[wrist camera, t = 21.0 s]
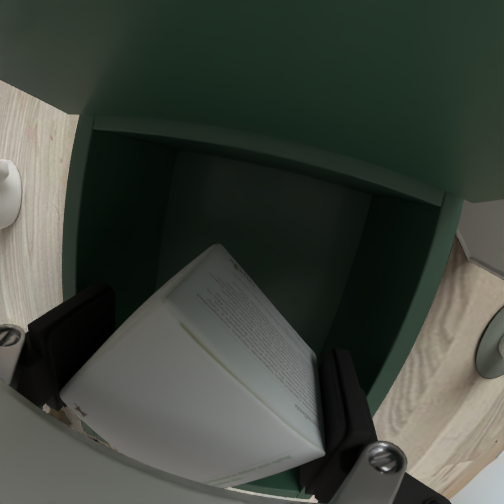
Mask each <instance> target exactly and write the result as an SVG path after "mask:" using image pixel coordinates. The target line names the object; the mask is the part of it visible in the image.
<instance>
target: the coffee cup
mask: <svg viewBox="0 0 504 504" xmlns="http://www.w3.org/2000/svg"><path fill="white" fill-rule="evenodd" d="M476 367H477V371H478V373H479V374H480V375H481V376H482V377H483V378H487V379H492V378H497V377H499V376H501V375H503V374H504V307H503V308H502V309H501V310H500V311H499V313H498V314H497V315H496V316H495V317H494V319H493V320H492V321H491V323H490V325H489V326H488V328H487V329H486V331H485V333H484V335H483V337H482V339H481V341H480V344H479V346H478V349H477V353H476Z"/></svg>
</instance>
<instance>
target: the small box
mask: <svg viewBox="0 0 504 504" xmlns="http://www.w3.org/2000/svg"><path fill="white" fill-rule="evenodd" d="M60 398H61V399H62V401H63V402H64V403H65V404H66V405H67V406H68V407H69V408H70V409H71V410H72V411H73V412H74V413H75V414H76V415H77V416H78V417H79V418H80V419H81V420H82V421H84V422H85V423H86V424H87V425H88V426H89V427H90V428H91V429H93V430H94V431H95V432H96V433H97V434H98V435H99V436H101V437H102V438H103V439H104V440H105V441H107V442H108V443H109V444H110V445H111V446H113V447H114V448H115V449H117V450H118V451H119V452H120V453H122V454H123V455H125V456H128V457H130V458H132V459H135V460H137V461H139V462H142V463H144V464H147V465H149V466H152V467H155V468H157V469H160V470H163V471H165V472H168V473H171V474H174V475H177V476H180V477H183V478H186V479H190V480H193V481H196V482H200V483H203V484H207V485H211V486H215V487H218V488H223V489H224V488H228V487H232V486H236V485H240V484H244V483H247V482H251V481H254V480H258V479H261V478H265V477H267V476H271V475H274V474H277V473H280V472H283V471H286V470H288V469H291V468H294V467H297V466H299V465H302V464H305V463H307V462H310V461H312V460H315V459H317V458H320V457H323V456H324V455H325V454H326V445H325V431H324V417H323V409H322V399H321V390H320V382H319V374H318V366H317V358H316V355H315V353H314V352H313V351H312V350H311V349H310V347H309V346H308V345H307V344H306V343H305V342H304V340H303V339H302V338H301V337H300V336H299V335H298V334H297V332H296V331H295V330H294V329H293V328H292V327H291V325H290V324H289V323H288V322H287V321H286V320H285V318H284V317H283V316H282V315H281V314H280V313H279V311H278V310H277V309H276V308H275V307H274V305H273V304H272V303H271V302H270V301H269V299H268V298H267V297H266V296H265V295H264V294H263V292H262V291H261V290H260V289H259V288H258V286H257V285H256V284H255V283H254V282H253V280H252V279H251V278H250V277H249V276H248V275H247V273H246V272H245V271H244V270H243V269H242V268H241V266H240V265H239V264H238V263H237V262H236V261H235V260H234V258H233V257H232V256H231V255H230V254H229V253H228V251H227V250H226V249H225V248H224V247H223V246H222V245H221V244H214V245H212V246H211V247H209V248H208V249H207V250H205V251H204V252H203V253H202V254H200V255H199V256H198V257H197V258H195V259H194V260H193V261H192V262H190V263H189V264H188V265H187V266H185V267H184V268H183V269H182V270H181V271H179V272H178V273H177V274H176V275H175V276H173V277H172V278H171V279H170V280H169V281H168V282H166V283H165V284H164V285H163V286H162V287H161V288H160V289H158V290H157V291H156V292H155V293H154V294H153V295H152V296H151V297H150V298H149V299H148V300H146V301H145V302H144V303H143V304H142V305H141V306H140V307H139V308H138V309H137V310H136V311H135V312H134V313H133V314H132V315H131V316H130V317H129V318H128V319H127V320H126V321H125V322H124V323H123V324H122V325H121V326H120V327H119V328H118V329H117V330H116V331H115V332H114V333H113V334H112V335H111V336H110V337H109V338H108V340H107V341H106V342H105V343H104V344H103V345H102V346H101V347H100V348H99V349H98V350H97V351H96V352H95V353H94V354H93V355H92V357H91V358H90V359H89V360H88V361H87V362H86V363H85V364H84V365H83V366H82V367H81V368H80V369H79V371H78V372H77V373H76V374H75V375H74V376H73V377H72V378H71V379H70V380H69V381H68V382H67V383H66V385H65V386H64V387H63V388H62V389H61V391H60Z"/></svg>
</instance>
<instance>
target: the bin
mask: <svg viewBox="0 0 504 504" xmlns="http://www.w3.org/2000/svg"><path fill="white" fill-rule="evenodd" d="M463 203H464V199H462V198H460V197H458V196H456V195H453V194H451V193H449V192H446V191H444V190H442V189H439V188H437V187H434V186H432V185H429V184H427V183H424V182H422V181H419V180H417V179H414V178H411V177H409V176H406V175H403V174H401V173H398V172H395V171H392V170H389V169H386V168H384V167H381V166H378V165H375V164H372V163H368V162H365V161H362V160H359V159H356V158H353V157H349V156H346V155H342V154H339V153H336V152H332V151H328V150H325V149H321V148H317V147H313V146H310V145H306V144H302V143H298V142H293V141H289V140H285V139H281V138H276V137H271V136H267V135H262V134H257V133H252V132H247V131H241V130H236V129H230V128H224V127H218V126H212V125H205V124H198V123H191V122H183V121H175V120H166V119H156V118H145V117H132V116H115V115H82V114H80V115H79V120H78V124H77V129H76V133H75V138H74V144H73V149H72V155H71V161H70V167H69V174H68V181H67V189H66V199H65V209H64V222H63V242H62V289H63V302H65V301H66V300H68V299H69V298H71V297H73V296H74V295H76V294H78V293H79V292H81V291H83V290H84V289H86V288H88V287H89V286H91V285H93V284H94V283H96V282H101V283H104V284H107V285H109V286H111V287H112V289H113V291H114V292H115V294H116V303H115V331H116V330H117V329H118V328H119V327H120V326H121V325H122V324H123V323H124V322H125V321H126V320H127V319H128V318H129V317H130V316H131V315H132V314H133V313H134V312H135V311H136V310H137V309H138V308H139V307H140V306H141V305H142V304H143V303H144V302H145V301H146V300H148V299H149V298H150V297H151V296H152V295H153V294H154V293H155V292H156V291H157V290H158V289H160V288H161V287H162V286H163V285H164V284H165V283H166V282H168V281H169V280H170V279H171V278H172V277H173V276H175V275H176V274H177V273H178V272H179V271H181V270H182V269H183V268H184V267H185V266H187V265H188V264H189V263H190V262H192V261H193V260H194V259H195V258H197V257H198V256H199V255H200V254H202V253H203V252H204V251H205V250H207V249H208V248H209V247H211V246H212V245H214V244H221V245H222V246H223V247H224V248H225V249H226V250H227V251H228V253H229V254H230V255H231V256H232V257H233V258H234V260H235V261H236V262H237V263H238V264H239V265H240V266H241V268H242V269H243V270H244V271H245V272H246V273H247V275H248V276H249V277H250V278H251V279H252V280H253V282H254V283H255V284H256V285H257V286H258V288H259V289H260V290H261V291H262V292H263V294H264V295H265V296H266V297H267V298H268V299H269V301H270V302H271V303H272V304H273V305H274V307H275V308H276V309H277V310H278V311H279V313H280V314H281V315H282V316H283V317H284V318H285V320H286V321H287V322H288V323H289V324H290V325H291V327H292V328H293V329H294V330H295V331H296V332H297V334H298V335H299V336H300V337H301V338H302V339H303V340H304V342H305V343H306V344H307V345H308V346H309V347H310V349H311V350H312V351H313V352H314V353H315V355H316V358H317V366H318V370H319V367H320V365H321V363H322V360H323V358H324V356H325V353H326V352H327V351H332V349H333V348H337V349H342V350H348V351H349V352H350V354H351V358H352V361H353V365H354V368H355V372H356V375H357V379H358V382H359V386H360V388H361V389H363V390H364V392H365V395H366V398H367V402H368V405H369V409H370V413H371V416H372V418H373V416H374V415H375V413H376V411H377V410H378V408H379V407H380V405H381V403H382V402H383V400H384V398H385V397H386V395H387V393H388V392H389V390H390V388H391V387H392V385H393V383H394V381H395V380H396V378H397V376H398V374H399V372H400V370H401V369H402V367H403V365H404V363H405V361H406V359H407V357H408V355H409V353H410V351H411V349H412V347H413V345H414V343H415V341H416V339H417V337H418V334H419V332H420V330H421V328H422V326H423V323H424V321H425V319H426V316H427V314H428V312H429V309H430V307H431V305H432V302H433V300H434V297H435V294H436V292H437V289H438V287H439V284H440V281H441V278H442V276H443V273H444V270H445V267H446V264H447V261H448V258H449V255H450V251H451V248H452V245H453V241H454V238H455V234H456V231H457V227H458V223H459V220H460V216H461V211H462V207H463ZM81 423H82V427H83V430H84V431H85V432H86V433H88V434H90V435H92V436H94V437H96V438H98V439H100V440H102V441H104V442H106V443H108V442H107V441H105V440H104V439H103V438H102V437H101V436H99V435H98V434H97V433H96V432H95V431H94V430H93V429H91V428H90V427H89V426H88V425H87V424H86V423H85V422H84V421H82V420H81ZM108 444H109V443H108ZM232 488H236V489H241V490H246V491H251V492H256V493H262V494H268V495H275V496H282V497H290V498H295V497H296V498H300V499H310V498H311V497H312V496H313V495H308V494H305V486H302V485H300V465H299V466H297V467H294V468H291V469H288V470H286V471H283V472H280V473H277V474H274V475H271V476H267V477H265V478H261V479H258V480H254V481H251V482H247V483H244V484H240V485H236V486H232Z"/></svg>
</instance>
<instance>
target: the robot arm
mask: <svg viewBox="0 0 504 504" xmlns="http://www.w3.org/2000/svg"><path fill="white" fill-rule="evenodd" d="M115 303H116V294H115V292H114V291H113V289H112V287H111V286H109V285H107V284H104V283H101V282H96V283H94V284H93V285H91V286H89V287H88V288H86V289H84V290H83V291H81V292H79V293H78V294H76V295H74V296H73V297H71V298H69V299H68V300H66V301H65V302H63V303H61V304H60V305H58V306H57V307H55V308H53V309H52V310H50V311H49V312H47V313H45V314H44V315H42V316H41V317H39V318H38V319H36V320H34V321H33V322H31V323H30V324H28V332H27V333H25V332H24V330H23V329H22V328H21V327H19V326H17V325H13V324H3V325H0V504H451V503H450V501H449V500H448V499H447V498H445V497H444V496H442V495H441V494H439V493H437V492H436V491H434V490H432V489H431V488H429V487H428V486H426V485H424V484H423V483H421V482H420V481H418V480H417V479H415V478H414V477H412V476H411V475H409V474H408V473H406V472H405V471H406V468H407V458H406V456H405V454H404V452H403V451H402V450H401V449H400V448H399V447H398V446H396V445H394V444H393V443H390V442H387V441H378V439H377V435H376V431H375V428H374V424H373V420H372V416H371V413H370V409H369V405H368V402H367V398H366V395H365V392H364V390H363V389H361V388H360V386H359V382H358V379H357V375H356V372H355V368H354V365H353V361H352V358H351V354H350V352H349V351H348V350H342V349H337V348H333V349H332V351H327V352H326V353H325V356H324V358H323V360H322V363H321V365H320V367H319V370H318V374H319V382H320V390H321V399H322V409H323V417H324V431H325V445H326V454H325V455H324V456H323V457H320V458H317V459H315V460H312V461H310V462H307V463H305V464H302V465H300V485H302V486H305V494H308V495H315V498H316V499H317V500H318V503H308V502H298V501H289V500H282V499H275V498H268V497H262V496H256V495H251V494H245V493H240V492H236V491H231V490H227V489H223V488H218V487H215V486H211V485H207V484H203V483H200V482H196V481H193V480H190V479H186V478H183V477H180V476H177V475H174V474H171V473H168V472H165V471H163V470H160V469H157V468H155V467H152V466H149V465H147V464H144V463H142V462H139V461H137V460H135V459H132V458H130V457H128V456H125V455H123V454H121V453H119V452H117V451H114V450H112V449H110V448H108V447H106V446H104V445H102V444H100V443H98V442H96V441H94V440H92V439H90V438H89V437H87V436H85V435H83V434H81V433H80V432H78V431H76V430H74V429H72V428H71V427H69V426H67V425H66V424H64V423H62V422H61V421H59V420H57V419H56V418H54V417H53V416H51V415H50V414H48V413H46V412H45V411H43V410H42V409H43V405H44V404H45V403H46V404H47V405H48V406H49V407H51V408H52V409H54V410H56V411H57V412H58V411H59V410H60V409H61V408H62V407H63V406H64V407H66V406H67V405H66V404H65V403H64V402H63V401H62V399H61V398H60V391H61V389H62V388H63V387H64V386H65V385H66V383H67V382H68V381H69V380H70V379H71V378H72V377H73V376H74V375H75V374H76V373H77V372H78V371H79V369H80V368H81V367H82V366H83V365H84V364H85V363H86V362H87V361H88V360H89V359H90V358H91V357H92V355H93V354H94V353H95V352H96V351H97V350H98V349H99V348H100V347H101V346H102V345H103V344H104V343H105V342H106V341H107V340H108V338H109V337H110V336H111V335H112V334H113V333H114V332H115Z"/></svg>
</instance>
